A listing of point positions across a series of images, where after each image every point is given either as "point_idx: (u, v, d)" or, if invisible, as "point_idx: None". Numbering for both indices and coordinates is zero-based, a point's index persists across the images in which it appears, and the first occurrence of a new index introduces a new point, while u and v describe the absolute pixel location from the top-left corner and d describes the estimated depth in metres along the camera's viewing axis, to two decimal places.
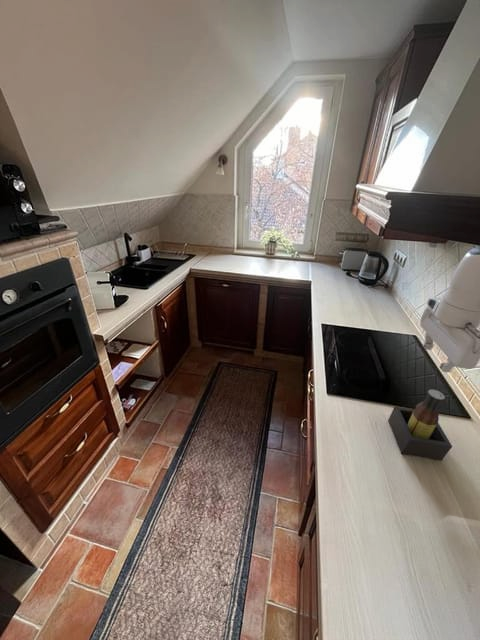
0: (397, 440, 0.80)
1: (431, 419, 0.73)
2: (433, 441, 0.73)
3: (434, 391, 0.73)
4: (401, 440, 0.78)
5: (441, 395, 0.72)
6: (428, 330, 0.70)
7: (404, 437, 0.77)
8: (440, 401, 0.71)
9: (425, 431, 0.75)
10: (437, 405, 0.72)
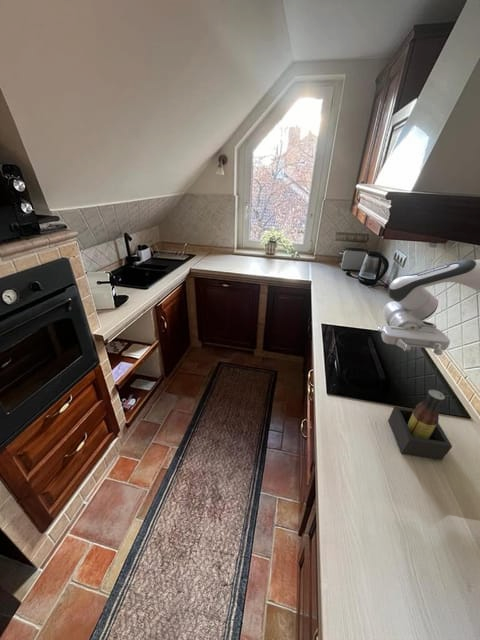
0: (397, 440, 0.80)
1: (431, 419, 0.73)
2: (433, 441, 0.73)
3: (434, 391, 0.73)
4: (401, 440, 0.78)
5: (441, 395, 0.72)
6: None
7: (404, 437, 0.77)
8: (440, 401, 0.71)
9: (425, 431, 0.75)
10: (437, 405, 0.72)
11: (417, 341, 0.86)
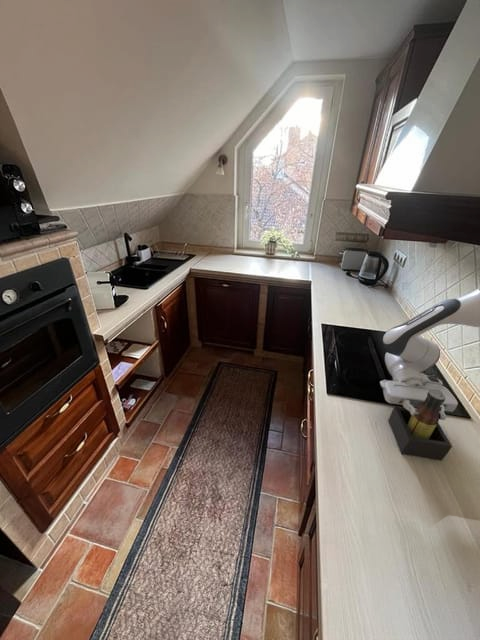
0: (397, 440, 0.80)
1: (431, 419, 0.73)
2: (433, 441, 0.73)
3: (434, 391, 0.73)
4: (401, 440, 0.78)
5: (441, 395, 0.72)
6: None
7: (404, 437, 0.77)
8: (440, 401, 0.71)
9: (425, 431, 0.75)
10: (437, 405, 0.72)
11: None
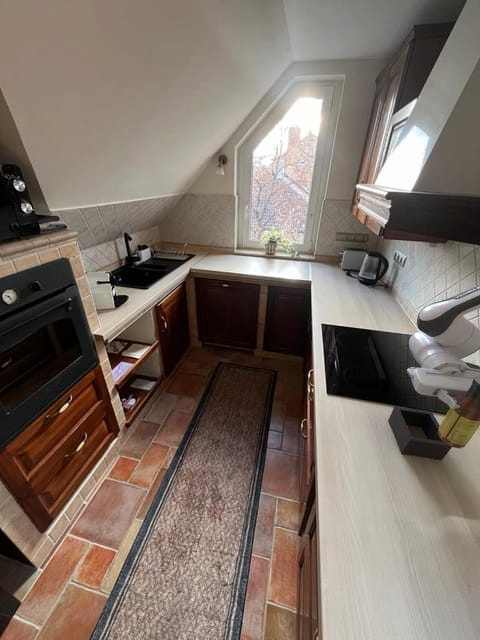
0: (397, 440, 0.80)
1: (477, 413, 0.58)
2: (433, 441, 0.73)
3: None
4: (401, 440, 0.78)
5: None
6: None
7: (404, 437, 0.77)
8: None
9: (468, 429, 0.61)
10: None
11: (462, 392, 0.65)
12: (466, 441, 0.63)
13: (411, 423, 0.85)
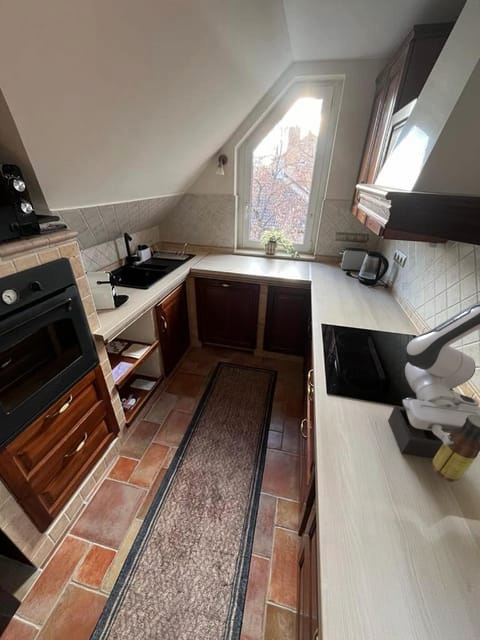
0: (397, 440, 0.80)
1: (470, 451, 0.59)
2: (433, 441, 0.73)
3: (475, 417, 0.59)
4: (401, 440, 0.78)
5: None
6: None
7: (404, 437, 0.77)
8: None
9: (462, 465, 0.62)
10: (479, 434, 0.58)
11: (456, 427, 0.66)
12: (459, 476, 0.64)
13: None
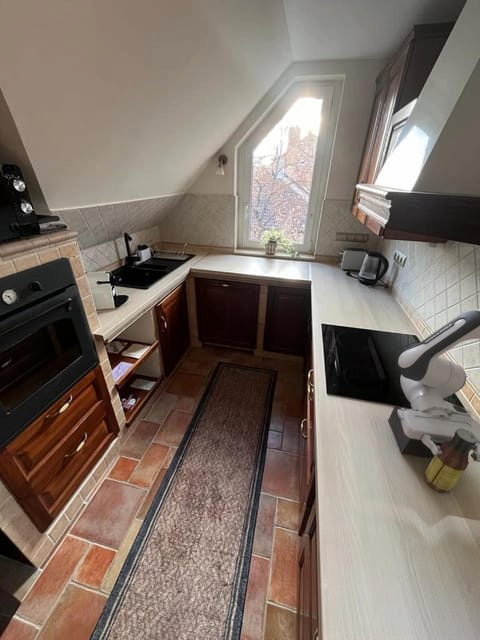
0: (397, 440, 0.80)
1: (459, 464, 0.62)
2: None
3: (463, 431, 0.62)
4: (401, 440, 0.78)
5: (472, 436, 0.61)
6: None
7: (404, 437, 0.77)
8: (472, 444, 0.60)
9: (452, 477, 0.64)
10: (467, 448, 0.61)
11: (448, 437, 0.68)
12: (450, 487, 0.66)
13: None
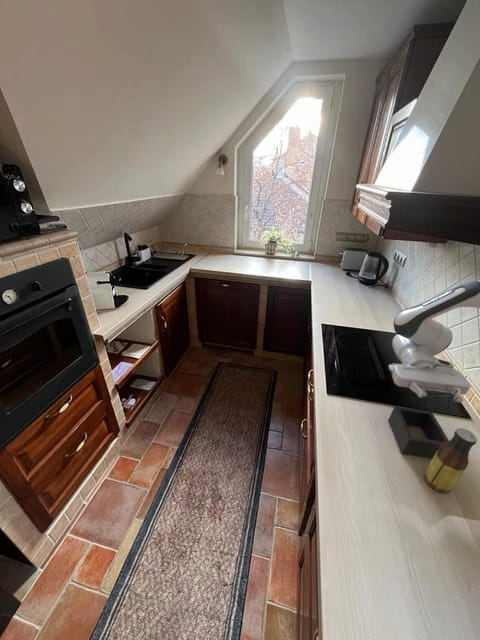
0: (397, 440, 0.80)
1: (459, 464, 0.62)
2: (433, 441, 0.73)
3: (463, 430, 0.62)
4: (401, 440, 0.78)
5: (472, 436, 0.61)
6: None
7: (404, 437, 0.77)
8: (471, 444, 0.60)
9: (452, 476, 0.64)
10: (467, 447, 0.61)
11: (433, 384, 0.77)
12: (450, 487, 0.66)
13: (411, 423, 0.85)
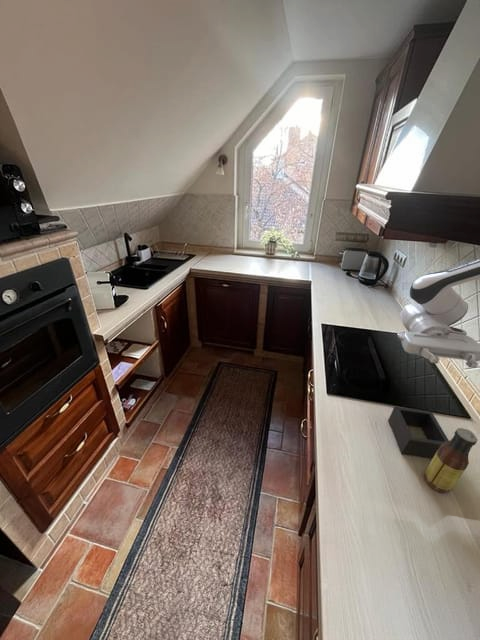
0: (397, 440, 0.80)
1: (459, 463, 0.62)
2: (433, 441, 0.73)
3: (463, 430, 0.62)
4: (401, 440, 0.78)
5: (472, 436, 0.61)
6: None
7: (404, 437, 0.77)
8: (472, 444, 0.60)
9: (452, 476, 0.64)
10: (467, 447, 0.61)
11: (445, 351, 0.73)
12: (450, 487, 0.66)
13: (411, 423, 0.85)
